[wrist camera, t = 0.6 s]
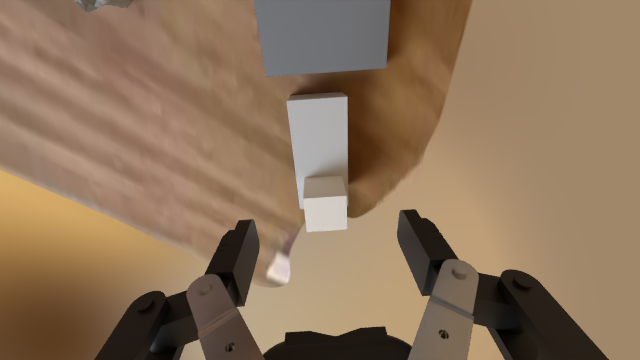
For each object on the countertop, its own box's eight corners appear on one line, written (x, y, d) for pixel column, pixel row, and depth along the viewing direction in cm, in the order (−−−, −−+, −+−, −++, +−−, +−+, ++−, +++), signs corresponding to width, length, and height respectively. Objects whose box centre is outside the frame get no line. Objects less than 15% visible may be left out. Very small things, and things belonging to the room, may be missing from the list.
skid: (290, 93, 25) (286, 100, 22) (342, 89, 25) (347, 96, 22) (301, 190, 31) (300, 209, 28) (344, 187, 31) (348, 205, 28)
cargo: (304, 177, 26) (303, 198, 22) (341, 175, 26) (346, 195, 22) (307, 208, 28) (306, 232, 24) (342, 206, 28) (346, 229, 24)
